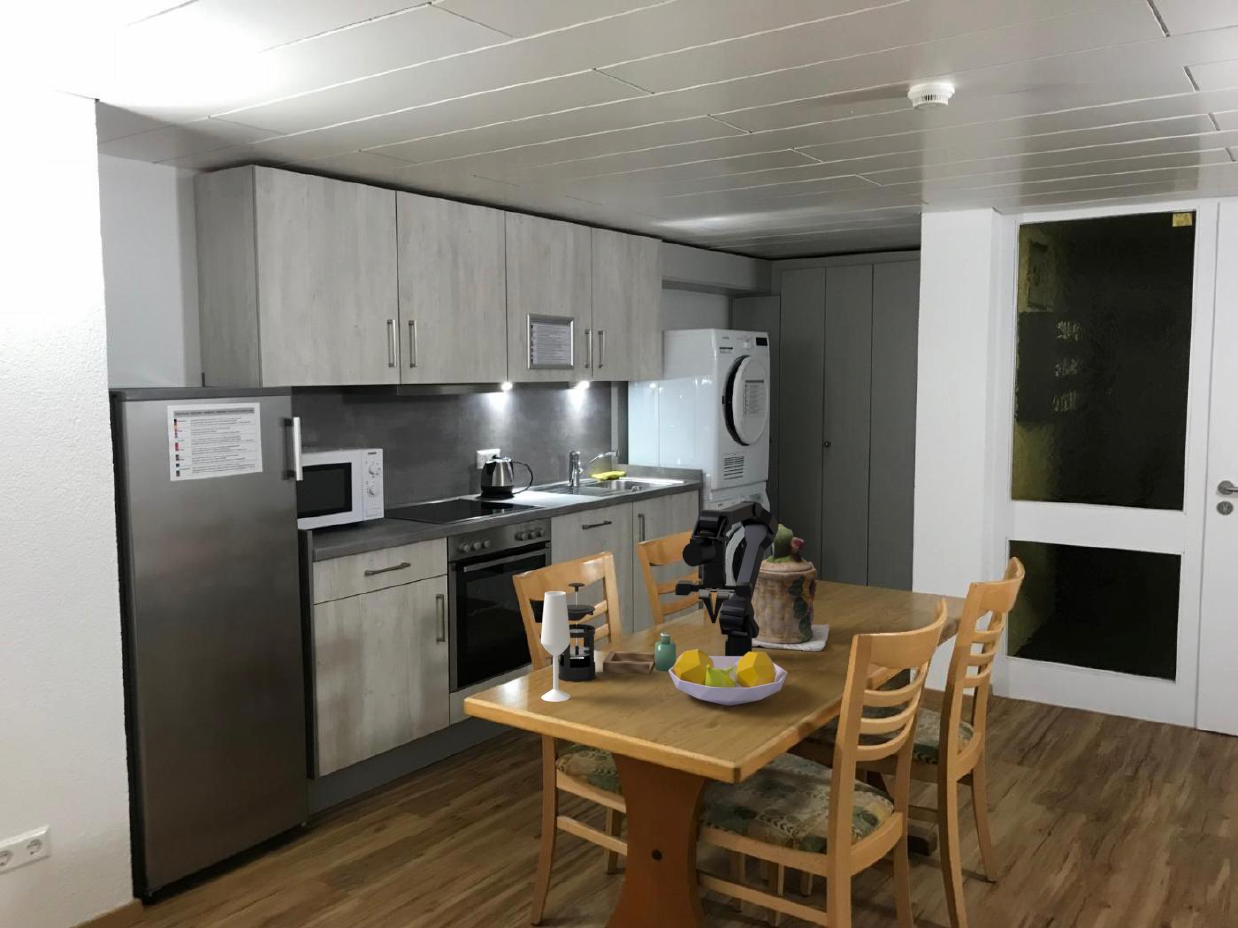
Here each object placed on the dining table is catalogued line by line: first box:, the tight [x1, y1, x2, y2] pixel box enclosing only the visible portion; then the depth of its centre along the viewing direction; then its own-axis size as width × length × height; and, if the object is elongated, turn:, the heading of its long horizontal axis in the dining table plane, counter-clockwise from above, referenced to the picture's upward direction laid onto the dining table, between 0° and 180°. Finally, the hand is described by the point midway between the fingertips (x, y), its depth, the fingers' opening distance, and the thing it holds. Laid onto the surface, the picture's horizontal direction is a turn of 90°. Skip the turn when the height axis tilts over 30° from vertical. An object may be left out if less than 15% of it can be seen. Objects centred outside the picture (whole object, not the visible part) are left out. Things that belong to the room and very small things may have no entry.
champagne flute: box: [540, 590, 571, 703], centre depth 228 cm, size 7×7×24 cm
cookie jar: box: [751, 523, 830, 652], centre depth 280 cm, size 25×25×32 cm
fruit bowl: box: [668, 648, 788, 707], centre depth 228 cm, size 28×27×11 cm
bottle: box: [654, 631, 677, 673], centre depth 252 cm, size 5×5×9 cm
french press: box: [558, 582, 597, 683], centre depth 245 cm, size 12×9×23 cm
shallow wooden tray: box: [602, 650, 655, 675], centre depth 253 cm, size 12×11×2 cm
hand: (713, 622), depth 249 cm, fingers closed
